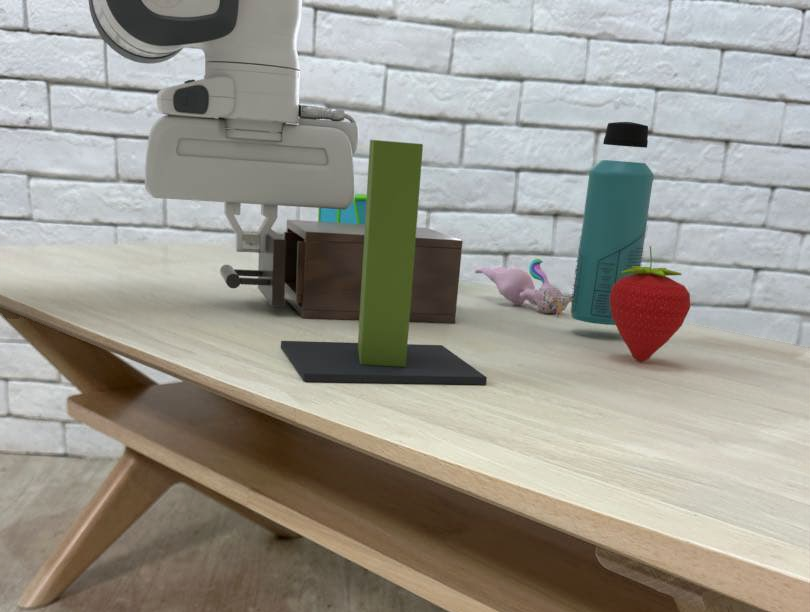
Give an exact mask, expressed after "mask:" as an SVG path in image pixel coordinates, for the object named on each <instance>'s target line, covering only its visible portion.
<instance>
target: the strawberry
mask: <svg viewBox="0 0 810 612" xmlns="http://www.w3.org/2000/svg"><path fill="white" fill-rule="evenodd" d="M652 256H653V255H652V246H651V245H649V257H650V259H649V261H650V263H649V266H633V267H632V268H633V269H626V271H622V272H621V273H625V274H635V275H631V276H627V277H623V278H620V279H619V280H618V281H617V282H616V283H615V284H614V285H613V288H612V290H611V293H610V296H609V299H610V307H611V315H612V318H613V320H614V322H615V324H616V325H615V326H616V329H617V331H618V333H619V335H620V337H621V338H622V340H623V342H624V343H625V345H626V346H627V348H628V350H629V352H630V354H631V356H632V358H633V359H634V360H635V361H637V362H645V361H648V360H649V359H651V357H652V356H653V355H654V354H655V353H656V352H657V351H659V349H661V348H662V347H663V346H664V345H665V344H666V343H667V342H668V341H669V340H670V339H671V338H672V337H673V336H674V335H675V334H676V333H677V332H678V331H679V329H681V327H682V326H683V324H684V322H685V320H686V318H687V315H688V313H689V311H690V309H691V294H690V292H689V290H688V289H687V288H686V286H685V285H684V284H681V283H680V282H679V281H676V280H674V279H672V278H670V277H668V276H682V273H681V272H678V271H675V270H671V269H667V267H653V268H652V264H653V263H652V262H653V257H652Z"/></svg>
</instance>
